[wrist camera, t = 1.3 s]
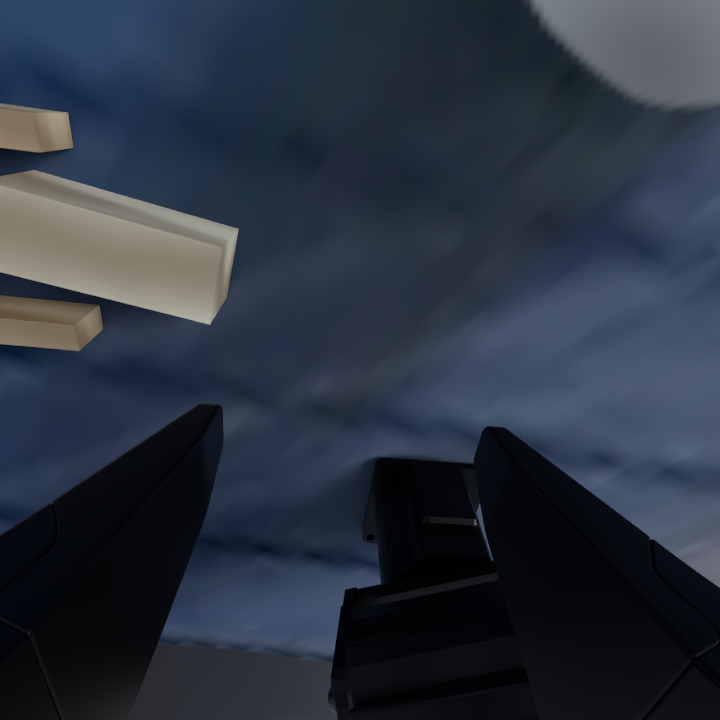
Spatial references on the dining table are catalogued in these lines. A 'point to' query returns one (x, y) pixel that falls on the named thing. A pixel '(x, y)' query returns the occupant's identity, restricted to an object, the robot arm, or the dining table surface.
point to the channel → (28, 315)
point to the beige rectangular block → (113, 246)
